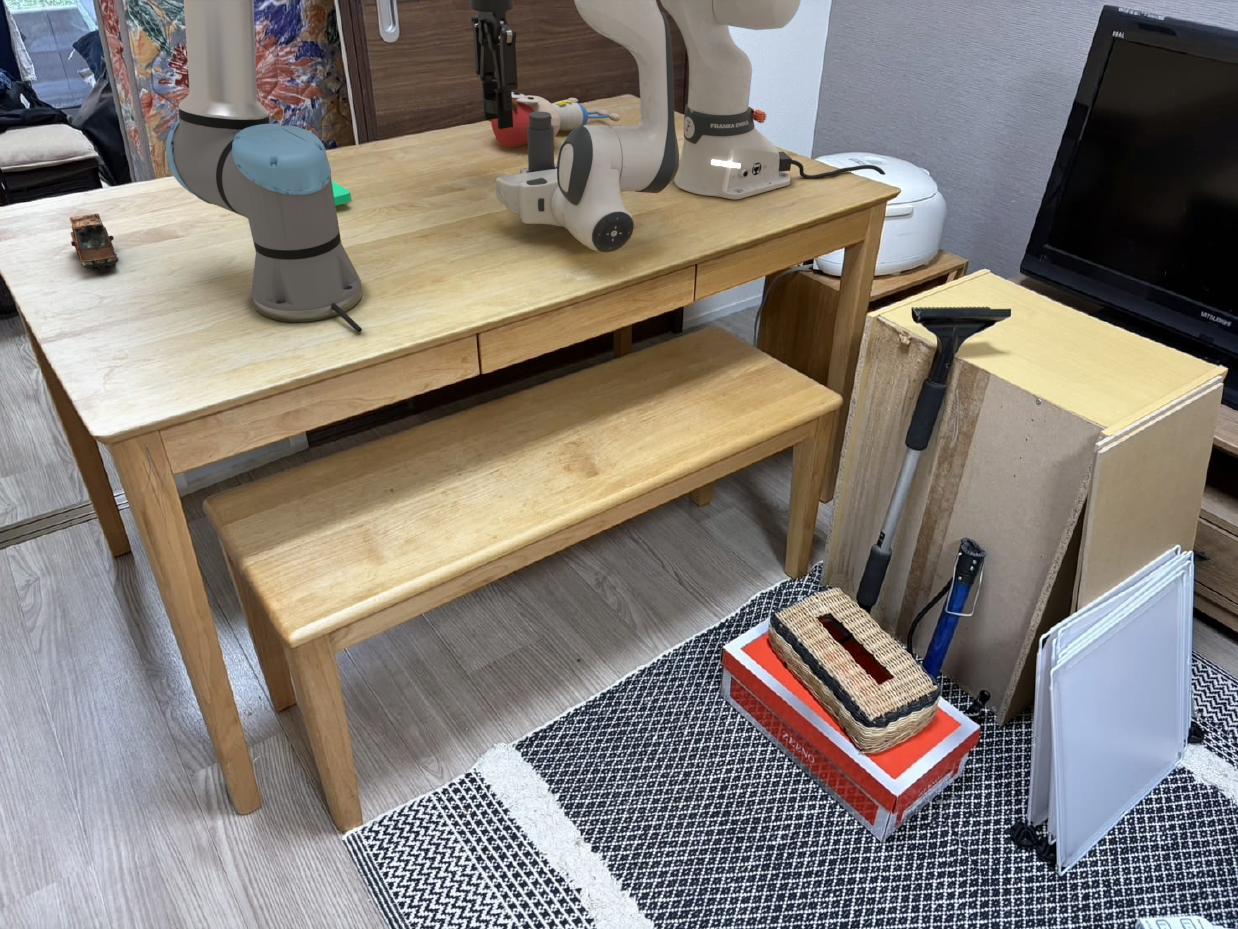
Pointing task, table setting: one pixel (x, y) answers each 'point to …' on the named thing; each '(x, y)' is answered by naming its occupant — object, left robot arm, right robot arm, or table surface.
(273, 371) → the table surface
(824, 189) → the table surface
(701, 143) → the right robot arm
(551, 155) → the dark grey cylinder
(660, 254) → the table surface
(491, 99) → the lid
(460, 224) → the table surface
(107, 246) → the toy car
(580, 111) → the toy
